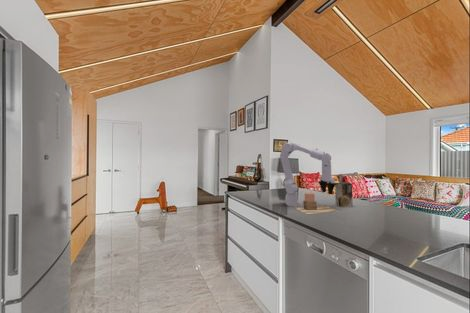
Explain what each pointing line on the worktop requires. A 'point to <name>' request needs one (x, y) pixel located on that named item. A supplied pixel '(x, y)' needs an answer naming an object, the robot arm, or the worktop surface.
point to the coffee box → (343, 194)
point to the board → (319, 210)
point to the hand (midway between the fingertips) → (327, 193)
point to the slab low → (310, 207)
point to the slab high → (309, 203)
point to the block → (309, 197)
